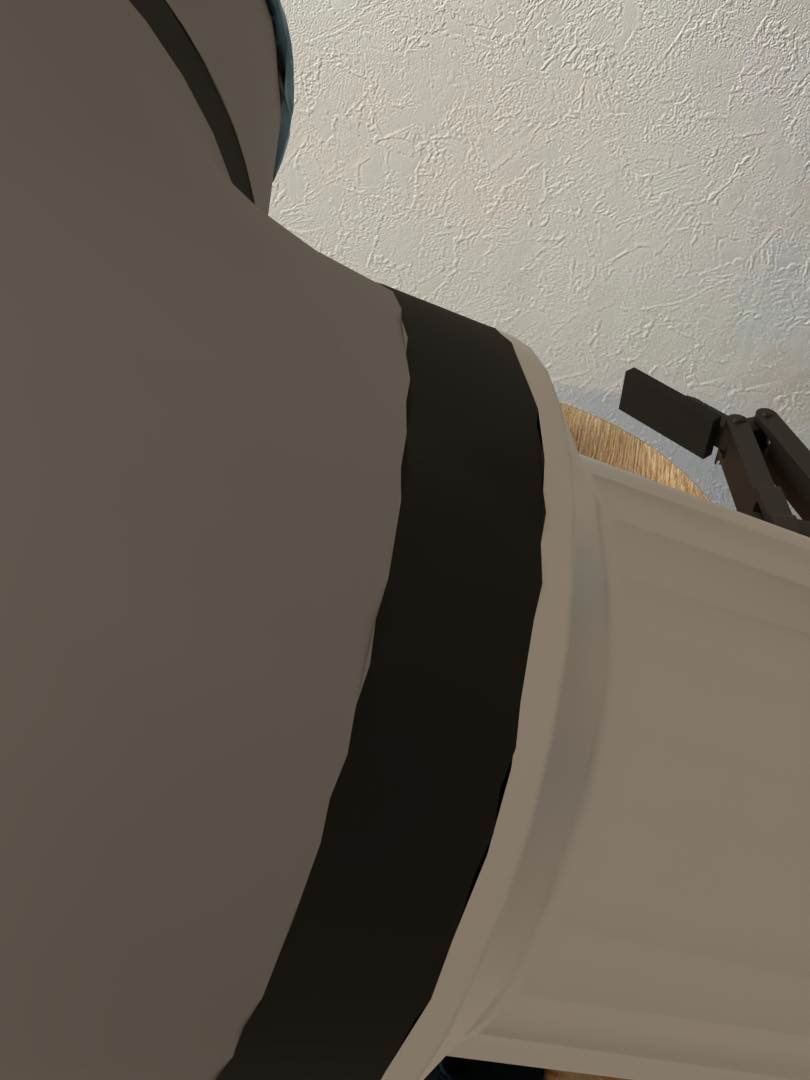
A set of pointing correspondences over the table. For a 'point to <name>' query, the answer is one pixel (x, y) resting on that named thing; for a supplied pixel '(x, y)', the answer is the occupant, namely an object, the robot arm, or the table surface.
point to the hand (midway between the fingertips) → (545, 427)
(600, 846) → the robot arm
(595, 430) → the table surface
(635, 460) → the table surface
